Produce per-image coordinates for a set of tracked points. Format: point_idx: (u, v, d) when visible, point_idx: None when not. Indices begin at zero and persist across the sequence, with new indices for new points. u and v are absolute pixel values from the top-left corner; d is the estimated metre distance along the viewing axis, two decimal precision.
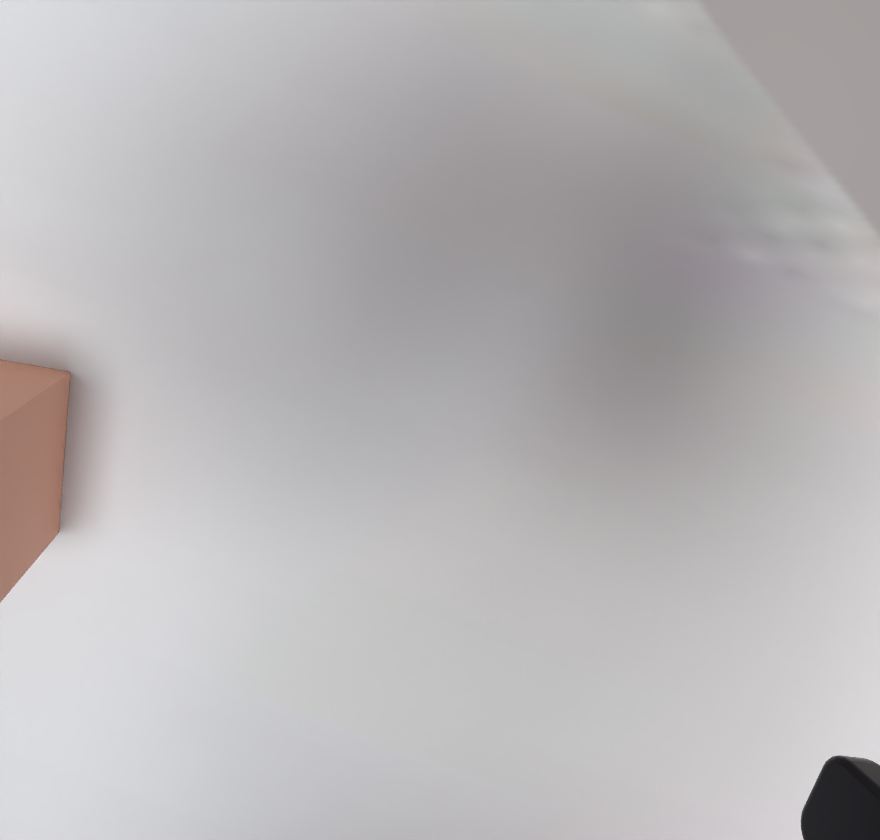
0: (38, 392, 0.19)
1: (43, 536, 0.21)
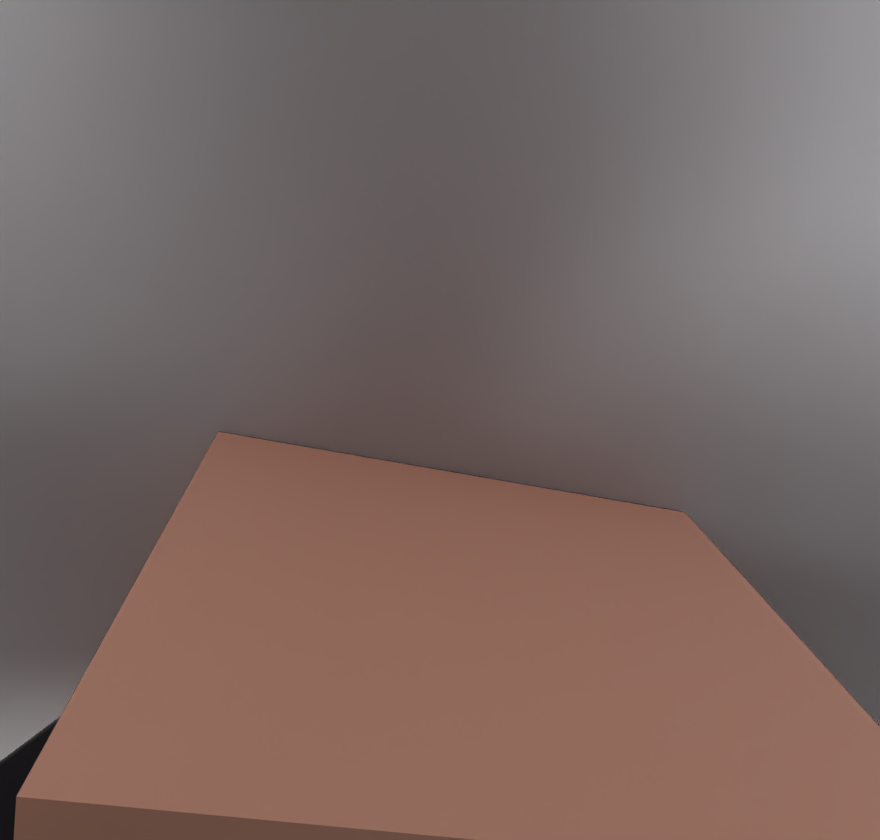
0: (165, 535, 0.05)
1: (689, 564, 0.07)
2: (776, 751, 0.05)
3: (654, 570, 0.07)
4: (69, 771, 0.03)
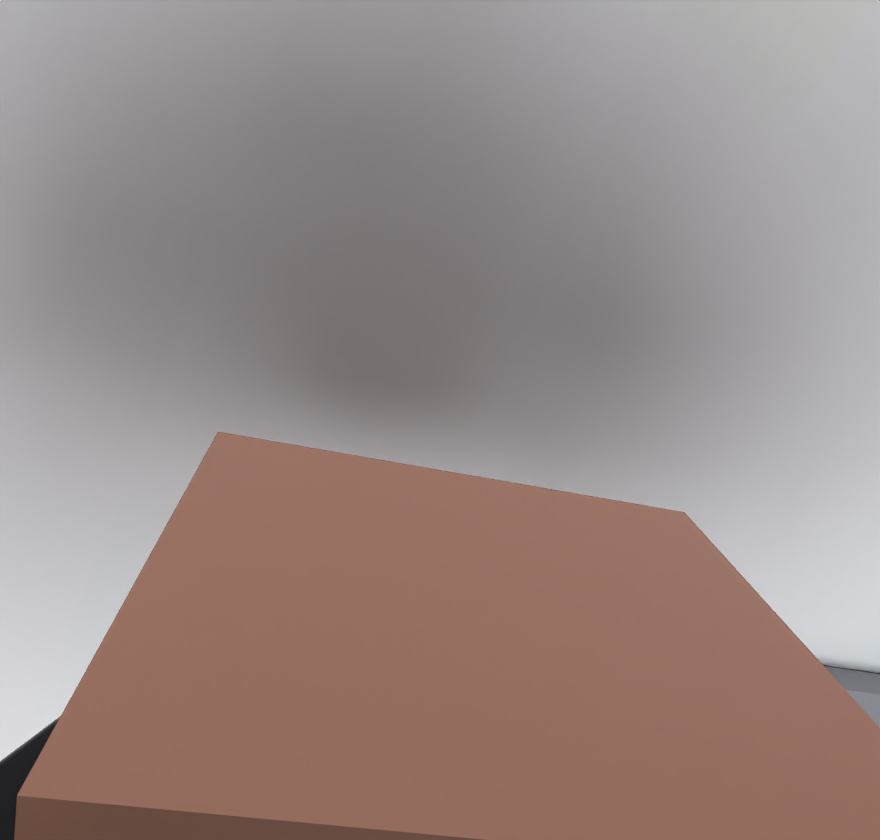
0: (164, 535, 0.05)
1: (690, 564, 0.07)
2: (775, 750, 0.05)
3: (653, 570, 0.07)
4: (70, 769, 0.03)
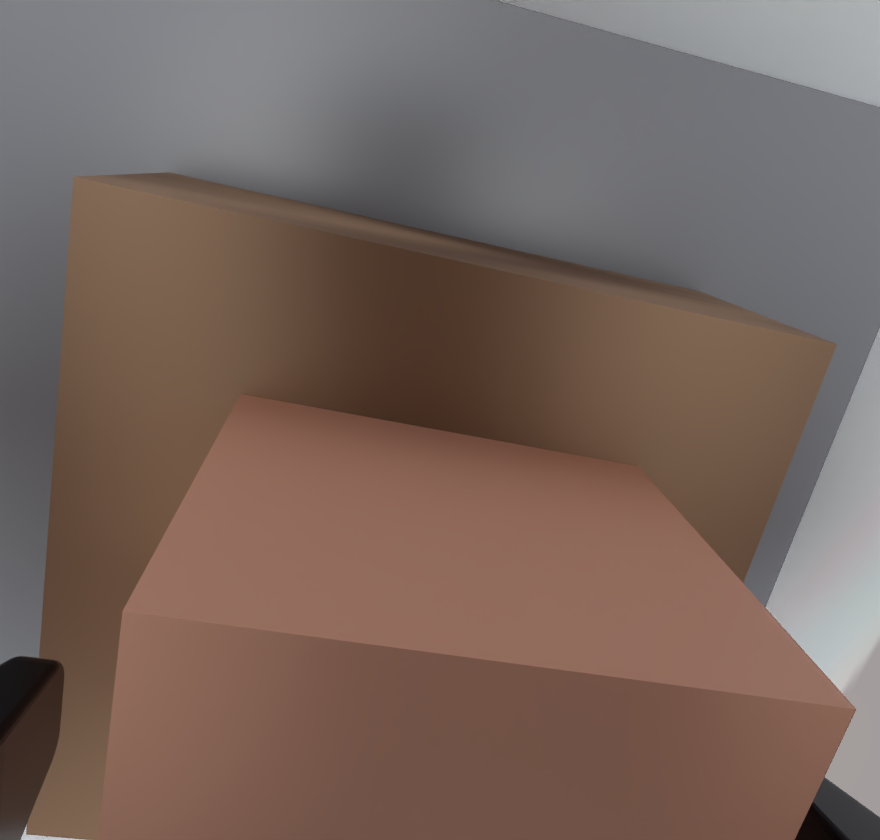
0: (204, 465, 0.07)
1: (635, 502, 0.08)
2: (680, 621, 0.06)
3: (603, 505, 0.08)
4: (155, 600, 0.05)
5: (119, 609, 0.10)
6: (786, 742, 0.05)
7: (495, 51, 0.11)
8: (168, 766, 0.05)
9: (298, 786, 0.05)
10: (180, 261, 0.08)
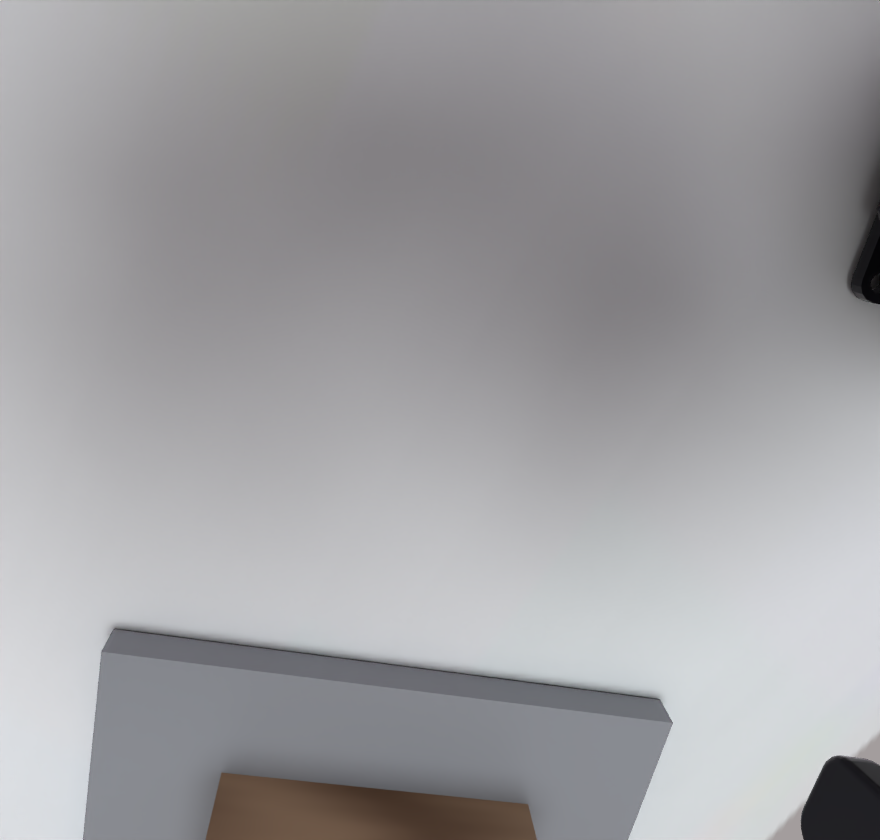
0: None
1: None
2: None
3: None
4: None
5: None
6: None
7: (401, 709, 0.21)
8: None
9: None
10: None
